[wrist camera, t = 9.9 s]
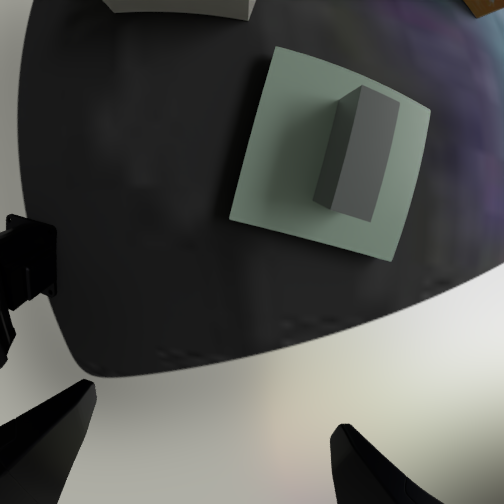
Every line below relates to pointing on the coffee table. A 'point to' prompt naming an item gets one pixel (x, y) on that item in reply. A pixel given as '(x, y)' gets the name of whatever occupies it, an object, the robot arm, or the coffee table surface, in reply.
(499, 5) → the small box
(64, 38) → the coffee table surface
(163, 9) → the storage box
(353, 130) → the lid
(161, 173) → the coffee table surface
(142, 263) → the coffee table surface
